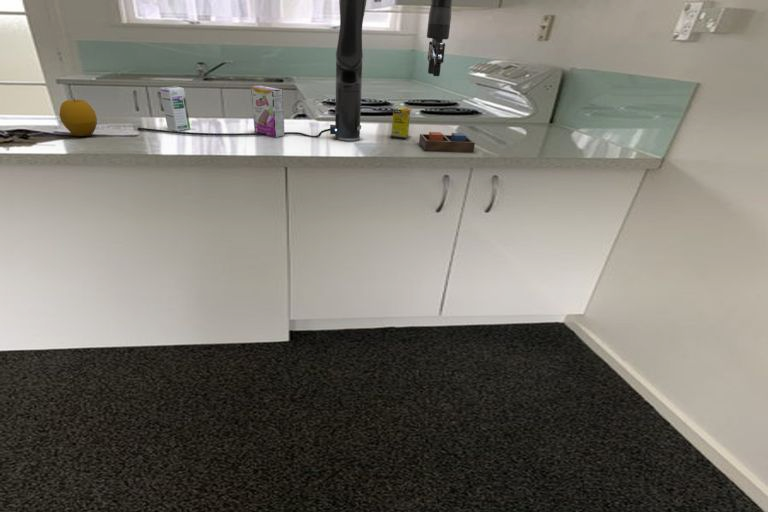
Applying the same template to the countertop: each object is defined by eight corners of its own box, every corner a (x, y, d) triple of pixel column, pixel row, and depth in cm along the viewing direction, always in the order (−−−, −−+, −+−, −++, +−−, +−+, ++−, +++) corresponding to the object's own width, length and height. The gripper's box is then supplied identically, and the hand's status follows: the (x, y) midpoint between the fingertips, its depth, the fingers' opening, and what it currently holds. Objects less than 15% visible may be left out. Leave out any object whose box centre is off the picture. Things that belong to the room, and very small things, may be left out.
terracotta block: (430, 146, 152) (431, 134, 150) (427, 143, 156) (429, 131, 154) (442, 147, 153) (443, 134, 151) (439, 144, 157) (440, 132, 155)
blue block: (453, 147, 153) (454, 135, 151) (450, 144, 157) (451, 132, 155) (464, 147, 154) (466, 135, 152) (461, 145, 158) (463, 133, 156)
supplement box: (406, 139, 163) (408, 110, 158) (391, 137, 164) (393, 108, 159) (408, 136, 169) (410, 108, 164) (393, 134, 170) (395, 106, 164)
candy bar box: (253, 132, 157) (249, 86, 149) (263, 130, 161) (260, 85, 153) (275, 138, 152) (272, 89, 144) (285, 136, 156) (283, 88, 148)
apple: (80, 141, 132) (70, 101, 127) (57, 137, 135) (46, 98, 129) (107, 135, 140) (98, 98, 135) (85, 131, 143) (76, 95, 137)
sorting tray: (424, 150, 149) (425, 140, 148) (419, 143, 159) (420, 133, 157) (473, 152, 152) (475, 142, 150) (464, 145, 161) (466, 135, 160)
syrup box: (176, 131, 151) (169, 88, 144) (166, 128, 154) (159, 86, 147) (190, 129, 156) (184, 87, 149) (181, 126, 158) (174, 85, 151)
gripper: (424, 22, 147) (419, 72, 155) (432, 22, 135) (427, 76, 143) (444, 24, 148) (439, 73, 156) (455, 23, 136) (448, 77, 144)
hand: (433, 74), depth 149 cm, fingers open, 8 cm apart
